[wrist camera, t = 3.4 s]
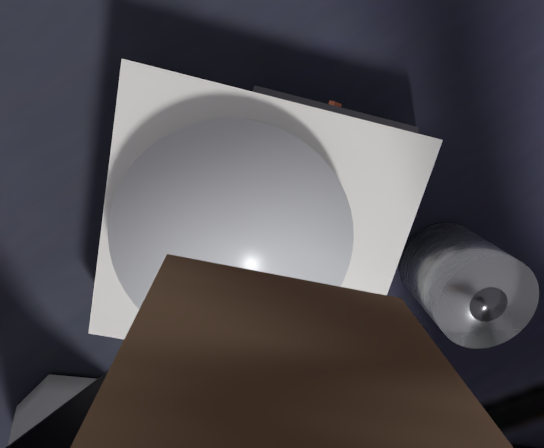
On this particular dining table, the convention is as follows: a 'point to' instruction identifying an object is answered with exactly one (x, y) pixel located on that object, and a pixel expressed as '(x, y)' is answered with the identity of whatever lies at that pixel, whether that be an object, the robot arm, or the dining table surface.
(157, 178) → the kitchen scale
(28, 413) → the flask
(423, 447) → the walnut block
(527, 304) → the steel weight with knob
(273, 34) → the dining table surface
